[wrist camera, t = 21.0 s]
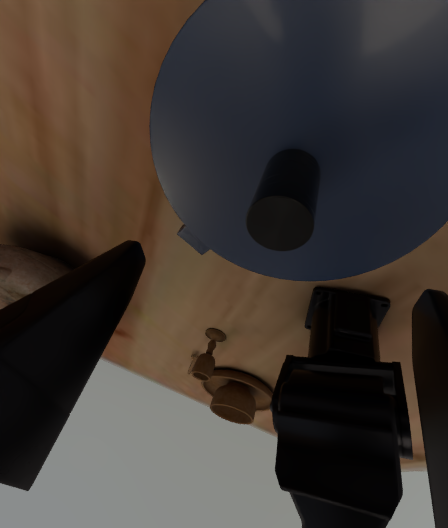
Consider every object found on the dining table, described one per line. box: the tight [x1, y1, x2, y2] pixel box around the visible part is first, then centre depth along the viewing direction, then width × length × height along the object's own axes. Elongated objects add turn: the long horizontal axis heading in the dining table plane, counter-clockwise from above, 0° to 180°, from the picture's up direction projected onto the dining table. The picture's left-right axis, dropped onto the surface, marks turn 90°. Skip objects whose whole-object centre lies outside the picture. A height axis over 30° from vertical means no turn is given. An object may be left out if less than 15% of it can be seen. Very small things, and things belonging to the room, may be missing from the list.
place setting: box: [188, 329, 273, 424], centre depth 43 cm, size 18×20×6 cm
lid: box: [150, 0, 448, 281], centre depth 13 cm, size 15×15×5 cm
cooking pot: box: [0, 244, 74, 309], centre depth 35 cm, size 25×19×12 cm
